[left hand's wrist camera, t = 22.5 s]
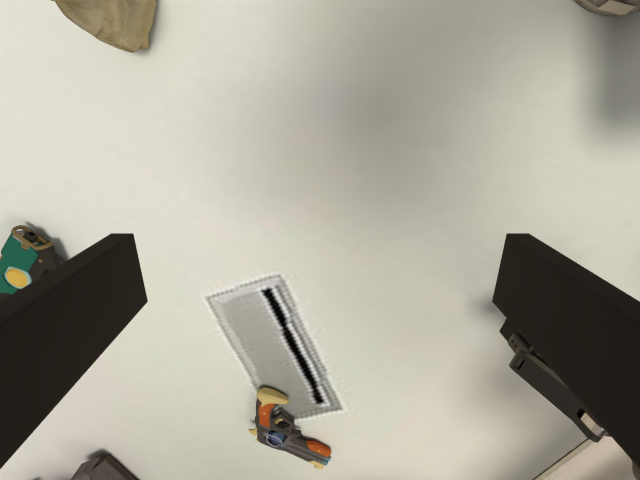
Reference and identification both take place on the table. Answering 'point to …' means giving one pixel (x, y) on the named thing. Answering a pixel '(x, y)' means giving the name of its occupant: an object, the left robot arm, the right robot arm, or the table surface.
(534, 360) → the right robot arm
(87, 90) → the table surface
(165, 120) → the table surface
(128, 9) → the sculpture
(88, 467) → the toy
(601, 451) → the tablet stand
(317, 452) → the toy gun
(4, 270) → the spray gun
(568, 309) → the left robot arm
